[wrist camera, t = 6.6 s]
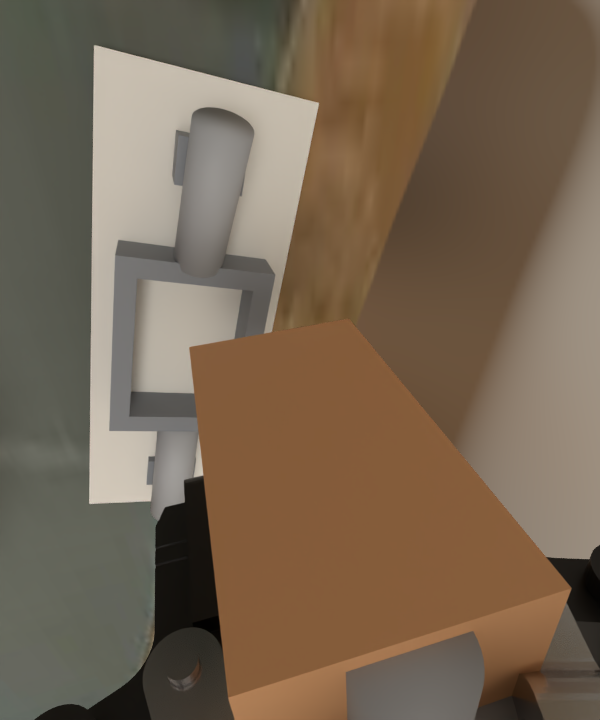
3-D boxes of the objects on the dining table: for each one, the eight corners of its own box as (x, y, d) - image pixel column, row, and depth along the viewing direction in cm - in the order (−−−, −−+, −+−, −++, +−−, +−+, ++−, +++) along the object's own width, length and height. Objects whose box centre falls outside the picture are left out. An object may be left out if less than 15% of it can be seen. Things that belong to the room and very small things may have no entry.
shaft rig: (91, 487, 32) (78, 580, 26) (97, 47, 20) (75, 33, 14) (234, 482, 36) (251, 564, 30) (310, 101, 24) (363, 108, 18)
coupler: (189, 346, 12) (239, 794, 4) (348, 318, 12) (627, 655, 5) (227, 523, 15) (292, 945, 8) (351, 492, 16) (520, 847, 8)
